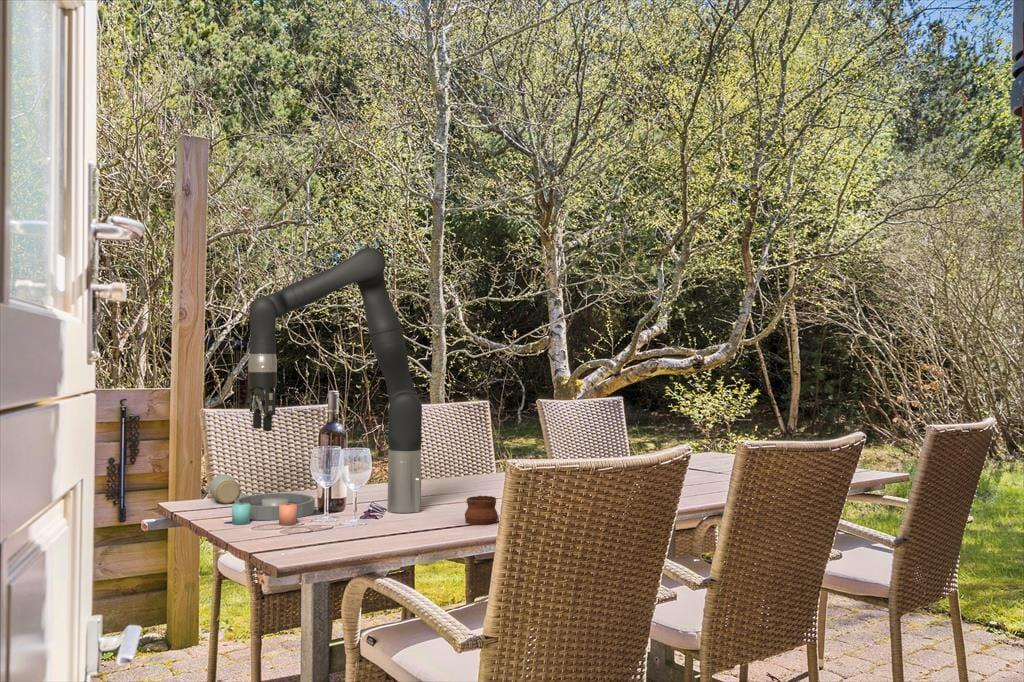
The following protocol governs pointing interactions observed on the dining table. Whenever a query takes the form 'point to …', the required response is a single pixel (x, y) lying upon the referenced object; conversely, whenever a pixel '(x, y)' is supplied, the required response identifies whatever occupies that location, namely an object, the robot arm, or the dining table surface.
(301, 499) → the groove tray
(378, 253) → the robot arm
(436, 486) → the dining table surface
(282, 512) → the brick bead
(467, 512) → the ceramic pot
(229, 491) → the ceramic mug
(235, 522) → the teal cylinder
